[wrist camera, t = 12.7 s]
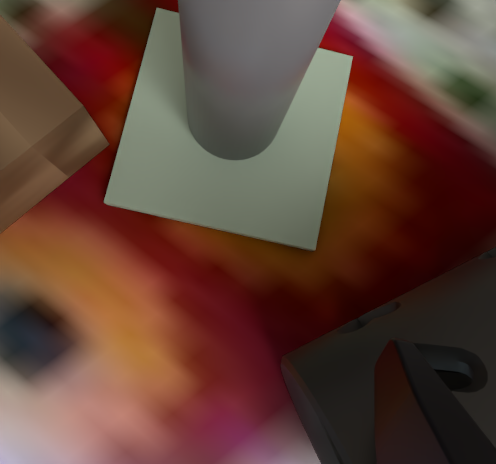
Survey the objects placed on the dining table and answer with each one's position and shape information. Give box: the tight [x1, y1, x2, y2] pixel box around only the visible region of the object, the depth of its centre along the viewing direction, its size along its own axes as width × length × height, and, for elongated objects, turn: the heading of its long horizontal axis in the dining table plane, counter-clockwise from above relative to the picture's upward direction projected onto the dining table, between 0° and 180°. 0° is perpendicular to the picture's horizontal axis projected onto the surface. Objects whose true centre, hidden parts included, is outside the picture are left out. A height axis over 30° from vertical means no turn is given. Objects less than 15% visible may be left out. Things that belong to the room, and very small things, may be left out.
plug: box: [178, 0, 340, 160], centre depth 12 cm, size 4×4×14 cm
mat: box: [104, 8, 353, 251], centre depth 20 cm, size 9×9×1 cm
